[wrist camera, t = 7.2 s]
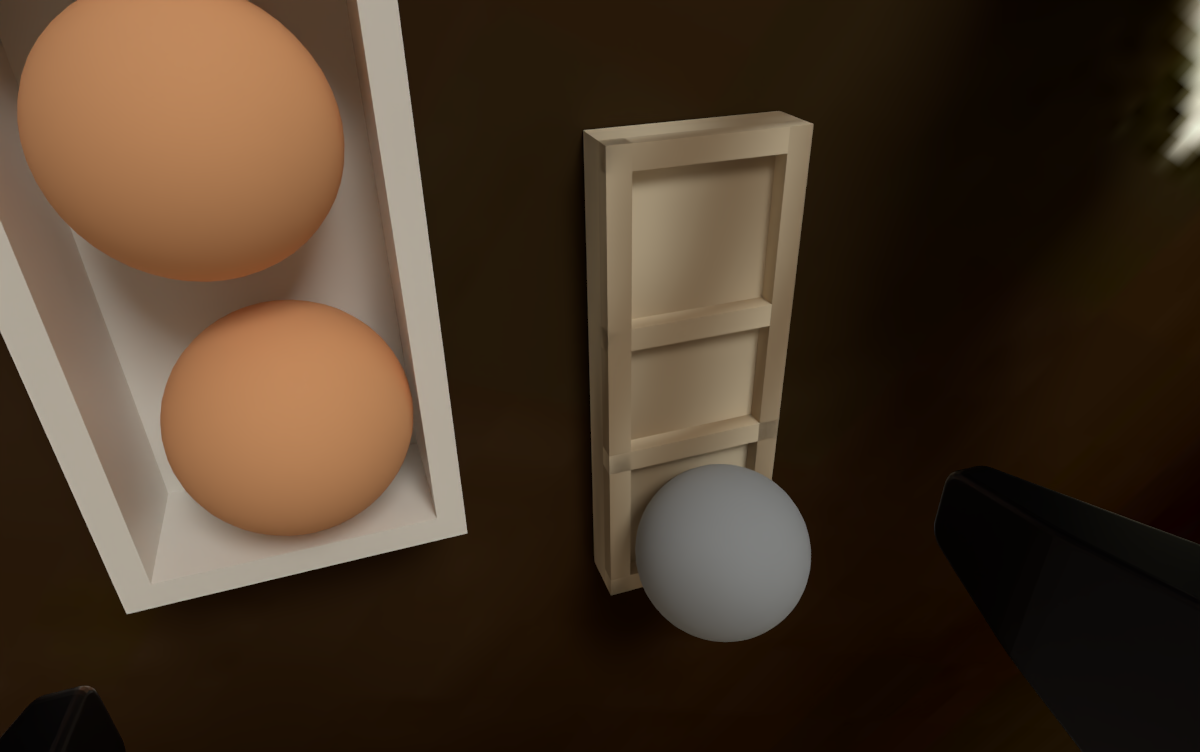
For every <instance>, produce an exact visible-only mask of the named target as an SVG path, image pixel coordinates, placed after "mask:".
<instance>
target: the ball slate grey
mask: <svg viewBox="0 0 1200 752" xmlns="http://www.w3.org/2000/svg"><path fill="white" fill-rule="evenodd" d="M635 554H636V565H637V569H638V573H639V577H640V581H641V583H642V585H643V588H644V590H645V592H646V594H647V596H648V597H649V599H650V600H651V602H652V603H653V605H654V606H655V607H656V609H657V610H658V611H659V612H660V613H661V614H662V615H663V616H664V617H665V618H666V619H667V620H668V621H670V622H671V623H672V624H673V625H675V626H676V627H678V628H679V629H681V630H683V631H685V632H687V633H688V634H691V635H693V636H696V637H699V638H702V639H706V640H710V641H719V642H733V641H741V640H746V639H750V638H753V637H756V636H758V635H761V634H763V633H765V632H767V631H768V630H770V629H772V628H773V627H775V626H776V625H777V624H779V623H780V622H781V621H782V620H783V619H784V618H786V617H787V615H788V614H789V613H790V612H791V611H792V610H793V608H794V607H795V606H796V604H797V603H798V601H799V599H800V597H801V595H802V593H803V591H804V589H805V586H806V584H807V580H808V576H809V572H810V564H811V548H810V540H809V535H808V531H807V528H806V525H805V522H804V520H803V518H802V516H801V514H800V512H799V510H798V508H797V507H796V505H795V504H794V503H793V501H792V500H791V499H790V497H789V496H788V495H787V493H785V492H784V491H783V490H782V489H781V488H780V487H779V486H778V485H777V484H776V483H774V482H773V481H772V480H770V479H769V478H767V477H765V476H764V475H762V474H760V473H758V472H755V471H753V470H751V469H748V468H745V467H740V466H736V465H729V464H710V465H704V466H700V467H697V468H693V469H690V470H688V471H685V472H683V473H681V474H679V475H677V476H676V477H674V478H673V479H671V480H670V481H668V482H667V483H666V484H665V485H664V486H663V487H661V488H660V489H659V490H658V492H657V493H656V494H655V495H654V496H653V498H652V499H651V501H650V502H649V504H648V505H647V507H646V509H645V511H644V512H643V515H642V518H641V520H640V523H639V526H638V530H637V535H636V544H635Z"/></svg>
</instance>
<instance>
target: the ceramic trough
mask: <svg viewBox="0 0 1200 752" xmlns="http://www.w3.org/2000/svg"><path fill="white" fill-rule="evenodd" d="M75 1H77V0H0V332H1V334H2V336H3V338H4V341H5V343H6V345H7V347H8V350H9V352H10V354H11V356H12V359H13V361H14V363H15V365H16V368H17V370H18V372H19V374H20V376H21V379H22V381H23V383H24V385H25V388H26V390H27V392H28V394H29V397H30V399H31V401H32V403H33V406H34V408H35V410H36V412H37V415H38V417H39V419H40V421H41V424H42V426H43V428H44V430H45V432H46V435H47V437H48V439H49V441H50V444H51V446H52V448H53V450H54V453H55V455H56V457H57V459H58V462H59V464H60V466H61V468H62V471H63V473H64V475H65V477H66V479H67V482H68V484H69V486H70V488H71V491H72V493H73V495H74V497H75V500H76V502H77V504H78V506H79V509H80V511H81V513H82V515H83V518H84V520H85V522H86V524H87V527H88V529H89V531H90V533H91V535H92V538H93V540H94V542H95V544H96V547H97V549H98V551H99V553H100V556H101V558H102V560H103V562H104V565H105V567H106V569H107V571H108V574H109V576H110V578H111V580H112V582H113V585H114V587H115V589H116V591H117V594H118V596H119V598H120V600H121V603H122V605H123V607H124V609H125V612H126V614H130V613H134V612H138V611H142V610H146V609H151V608H155V607H159V606H163V605H167V604H172V603H176V602H180V601H184V600H188V599H193V598H197V597H201V596H205V595H210V594H214V593H218V592H222V591H226V590H231V589H235V588H239V587H243V586H247V585H252V584H256V583H260V582H264V581H268V580H273V579H277V578H281V577H285V576H290V575H294V574H298V573H302V572H306V571H311V570H315V569H319V568H323V567H327V566H332V565H336V564H340V563H344V562H348V561H353V560H357V559H361V558H365V557H370V556H374V555H378V554H382V553H386V552H391V551H395V550H399V549H403V548H407V547H412V546H416V545H420V544H424V543H428V542H433V541H437V540H441V539H445V538H450V537H454V536H458V535H462V534H466V533H467V526H466V519H465V511H464V504H463V496H462V488H461V481H460V473H459V466H458V458H457V450H456V443H455V435H454V428H453V420H452V412H451V405H450V397H449V390H448V382H447V374H446V367H445V359H444V351H443V344H442V336H441V329H440V321H439V313H438V306H437V298H436V291H435V283H434V275H433V268H432V260H431V253H430V245H429V237H428V230H427V222H426V215H425V207H424V199H423V192H422V184H421V176H420V169H419V161H418V154H417V146H416V138H415V131H414V123H413V116H412V108H411V100H410V93H409V85H408V78H407V70H406V62H405V55H404V47H403V40H402V32H401V24H400V17H399V9H398V1H397V0H247V1H249V2H251V3H253V4H254V5H256V6H258V7H260V8H261V9H263V10H264V11H266V12H267V13H268V14H270V15H271V16H272V17H274V18H275V19H277V20H278V21H279V22H280V23H281V24H282V25H284V26H285V27H286V28H287V29H288V30H289V31H290V32H291V33H292V34H294V35H295V37H296V38H297V39H298V40H299V41H300V42H301V43H302V45H303V46H304V47H305V48H306V49H307V50H308V51H309V53H310V54H311V55H312V57H313V58H314V60H315V61H316V63H317V64H318V66H319V67H320V68H321V70H322V72H323V74H324V76H325V77H326V79H327V81H328V83H329V85H330V87H331V89H332V92H333V94H334V97H335V100H336V102H337V105H338V108H339V112H340V116H341V120H342V125H343V134H344V167H343V173H342V179H341V184H340V187H339V190H338V193H337V196H336V199H335V201H334V203H333V205H332V207H331V209H330V211H329V213H328V215H327V216H326V218H325V219H324V221H323V222H322V224H321V225H320V227H319V228H318V230H317V231H316V232H315V233H314V234H313V236H312V237H311V238H310V239H309V240H308V241H307V242H306V243H305V244H304V245H303V246H302V247H300V248H299V249H298V250H297V251H296V252H294V253H293V254H292V255H290V256H289V257H287V258H285V259H284V260H282V261H281V262H279V263H277V264H275V265H273V266H271V267H269V268H266V269H264V270H262V271H259V272H256V273H253V274H250V275H247V276H244V277H240V278H235V279H229V280H223V281H210V282H198V281H183V280H176V279H169V278H164V277H160V276H157V275H153V274H149V273H146V272H143V271H140V270H138V269H135V268H132V267H130V266H128V265H125V264H123V263H121V262H119V261H117V260H115V259H113V258H111V257H110V256H108V255H106V254H105V253H103V252H102V251H100V250H98V249H97V248H95V247H94V246H92V245H91V244H90V243H89V242H87V241H86V240H85V239H83V238H82V237H81V236H80V235H78V234H77V233H76V232H75V231H74V230H73V229H72V228H71V227H70V226H69V225H68V224H67V223H66V222H65V221H64V220H63V219H62V218H61V217H60V216H59V214H58V213H57V212H56V211H55V209H54V208H53V207H52V206H51V204H50V203H49V202H48V200H47V199H46V197H45V195H44V194H43V192H42V191H41V189H40V187H39V186H38V184H37V183H36V181H35V179H34V177H33V175H32V172H31V170H30V168H29V166H28V164H27V162H26V158H25V155H24V152H23V148H22V145H21V142H20V136H19V129H18V123H17V98H18V91H19V85H20V79H21V74H22V71H23V68H24V65H25V63H26V60H27V57H28V55H29V53H30V51H31V49H32V47H33V46H34V44H35V42H36V40H37V38H38V37H39V36H40V34H41V33H42V32H43V31H44V29H45V28H46V27H47V26H48V25H49V23H50V22H51V21H52V20H53V19H54V18H55V17H56V16H58V15H59V14H60V13H61V12H62V11H63V10H64V9H66V8H67V7H68V6H69V5H70V4H72V3H74V2H75ZM274 300H303V301H310V302H315V303H320V304H325V305H328V306H331V307H334V308H337V309H340V310H342V311H344V312H346V313H348V314H350V315H352V316H354V317H356V318H357V319H359V320H360V321H362V322H363V323H365V324H366V325H368V326H369V327H370V328H371V329H373V330H374V331H375V332H376V333H377V334H378V335H379V336H380V337H381V338H382V339H383V340H384V341H385V342H386V343H387V345H388V346H389V347H390V348H391V349H392V351H393V352H394V354H395V356H396V357H397V359H398V361H399V362H400V364H401V366H402V368H403V370H404V372H405V375H406V377H407V380H408V383H409V387H410V392H411V396H412V400H413V431H412V436H411V441H410V445H409V448H408V451H407V454H406V457H405V459H404V462H403V464H402V466H401V468H400V470H399V472H398V473H397V475H396V476H395V478H394V479H393V481H392V482H391V484H390V485H389V486H388V487H387V489H386V490H385V491H384V492H383V493H382V495H381V496H380V497H379V498H378V499H377V500H375V501H374V502H373V503H372V504H371V505H370V506H369V507H367V508H366V509H365V510H364V511H362V512H361V513H359V514H358V515H356V516H354V517H353V518H351V519H349V520H347V521H345V522H343V523H341V524H339V525H337V526H334V527H331V528H329V529H326V530H322V531H319V532H315V533H310V534H304V535H294V536H276V535H266V534H259V533H254V532H250V531H247V530H243V529H241V528H238V527H236V526H233V525H231V524H229V523H226V522H224V521H222V520H221V519H219V518H217V517H215V516H213V515H212V514H211V513H209V512H208V511H207V510H206V509H204V508H203V507H202V506H201V505H199V504H198V503H197V502H196V501H195V500H194V499H193V498H192V497H191V496H190V495H189V494H188V493H187V492H186V490H185V489H184V488H183V486H182V485H181V483H180V482H179V480H178V479H177V477H176V476H175V474H174V473H173V471H172V468H171V466H170V464H169V462H168V459H167V456H166V453H165V450H164V446H163V442H162V438H161V426H160V414H161V402H162V398H163V394H164V390H165V386H166V383H167V381H168V378H169V376H170V374H171V371H172V369H173V367H174V365H175V364H176V362H177V360H178V359H179V357H180V355H181V354H182V353H183V352H184V350H185V349H186V348H187V347H188V346H189V344H190V343H191V342H192V341H193V340H194V339H195V338H196V337H197V336H198V335H199V334H200V333H201V332H202V331H203V330H204V329H206V328H207V327H208V326H210V325H211V324H213V323H214V322H215V321H217V320H218V319H220V318H222V317H224V316H226V315H228V314H229V313H231V312H234V311H236V310H239V309H241V308H244V307H246V306H250V305H254V304H257V303H261V302H267V301H274Z"/></svg>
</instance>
